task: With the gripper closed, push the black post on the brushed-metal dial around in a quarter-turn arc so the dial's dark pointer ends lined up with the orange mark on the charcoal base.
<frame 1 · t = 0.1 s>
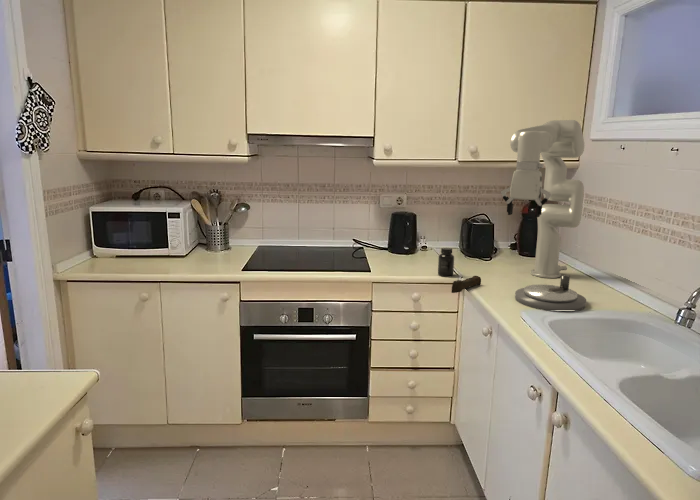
hand: (523, 215, 170), 31 cm above the worktop, tool pointing down, fingers open, 9 cm apart
dial base: (549, 301, 174), on the worktop
supplement bottle: (445, 275, 211), on the worktop
dial: (550, 286, 173), point 6 cm above the worktop, hinge at 0.0°
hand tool: (465, 289, 189), on the worktop
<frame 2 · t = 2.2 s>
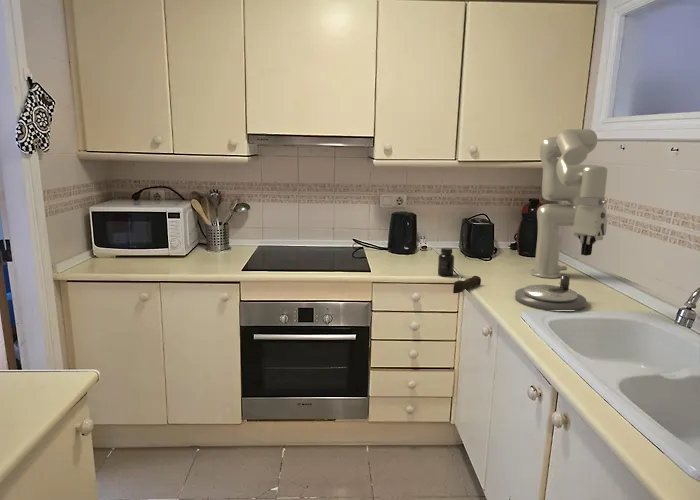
hand: (586, 254, 167), 18 cm above the worktop, tool pointing down, fingers closed
nothing on the worktop moved.
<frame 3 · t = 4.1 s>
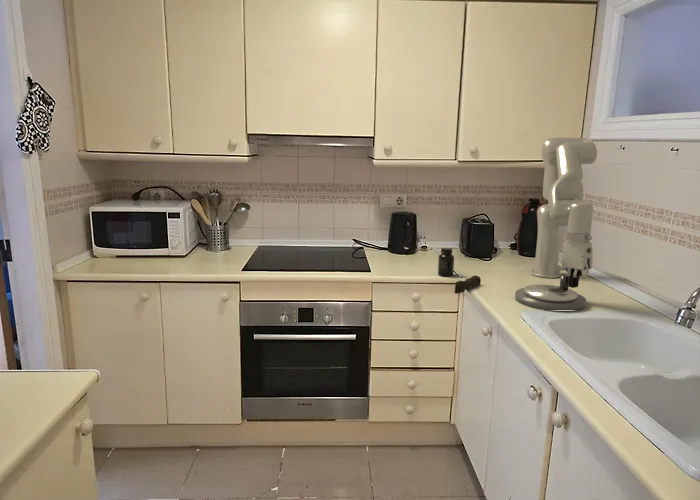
hand: (573, 286, 173), 6 cm above the worktop, tool pointing down, fingers closed
dial: (550, 286, 173), point 6 cm above the worktop, hinge at 1.2°, touching gripper
everything else where it was.
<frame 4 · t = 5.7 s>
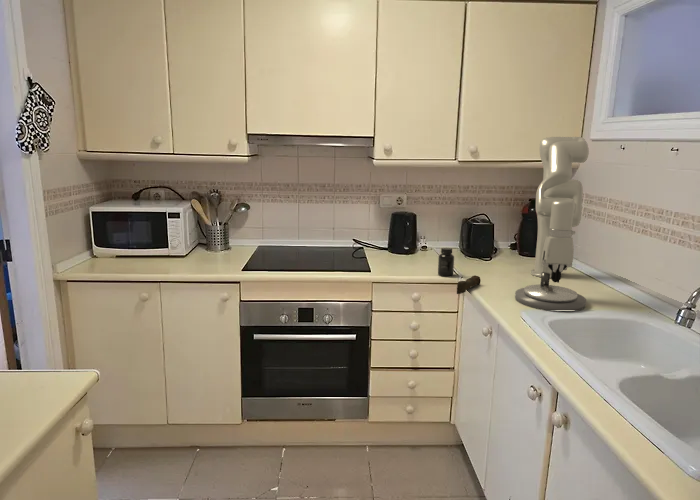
hand: (555, 281, 179), 6 cm above the worktop, tool pointing down, fingers closed
dial: (550, 286, 173), point 6 cm above the worktop, hinge at 59.5°, touching gripper
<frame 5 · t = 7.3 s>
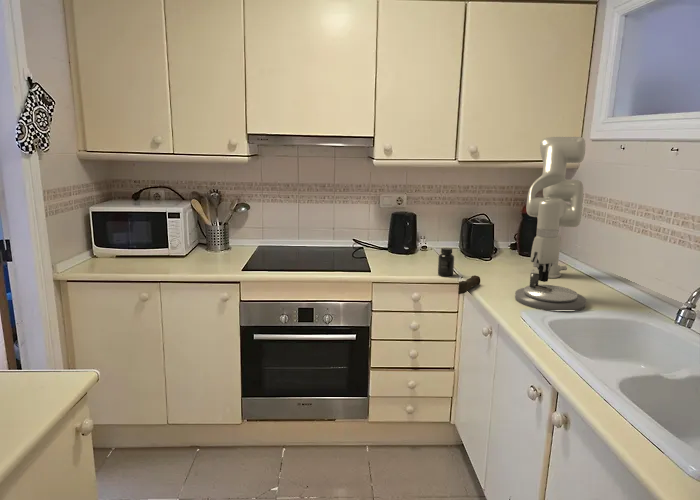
hand: (542, 280, 181), 5 cm above the worktop, tool pointing down, fingers closed
dial: (550, 286, 173), point 6 cm above the worktop, hinge at 98.7°
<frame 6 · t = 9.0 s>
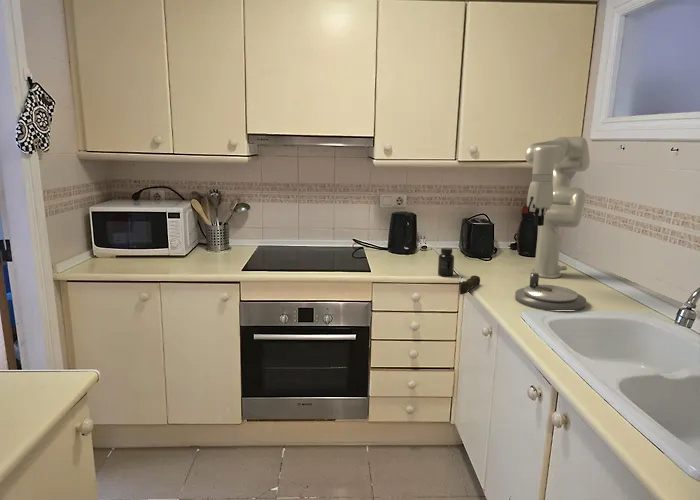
hand: (538, 225, 188), 25 cm above the worktop, tool pointing down, fingers closed
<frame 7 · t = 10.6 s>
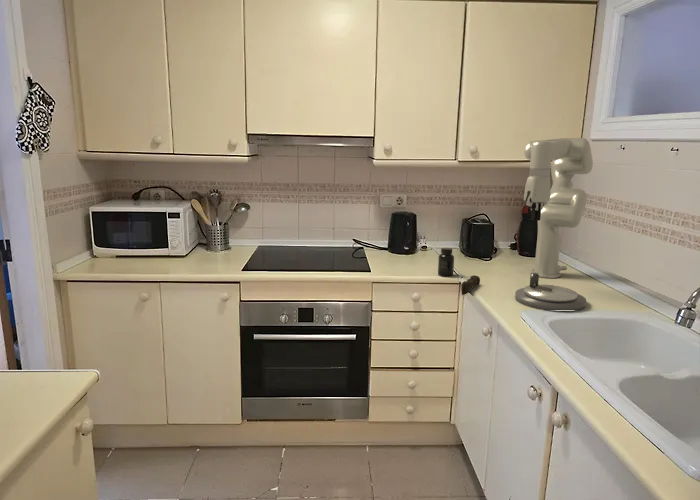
hand: (535, 220, 189), 27 cm above the worktop, tool pointing down, fingers closed
at the end: dial at +99° (first picture: +0°) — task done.
